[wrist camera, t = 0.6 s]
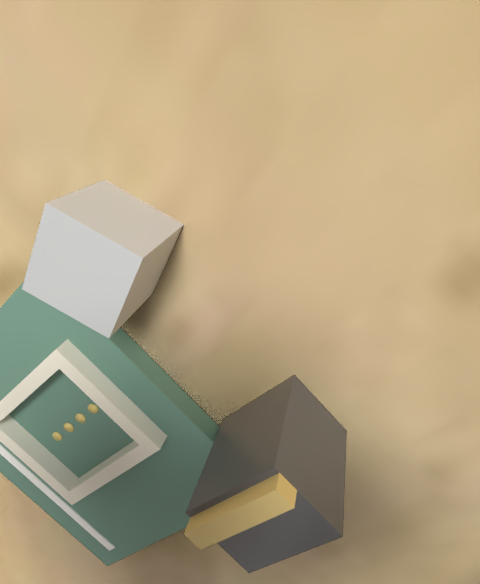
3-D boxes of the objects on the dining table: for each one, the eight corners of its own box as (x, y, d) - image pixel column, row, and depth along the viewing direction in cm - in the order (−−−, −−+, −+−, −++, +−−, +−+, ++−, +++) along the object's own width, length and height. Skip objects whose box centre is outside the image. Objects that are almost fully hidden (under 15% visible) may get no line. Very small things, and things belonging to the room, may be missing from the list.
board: (265, 472, 25) (257, 505, 23) (115, 549, 31) (99, 580, 29) (52, 258, 22) (22, 275, 21) (-66, 388, 29) (-96, 410, 27)
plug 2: (346, 430, 23) (342, 555, 17) (272, 468, 25) (245, 591, 19) (294, 374, 22) (270, 484, 16) (223, 418, 24) (178, 529, 18)
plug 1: (184, 223, 20) (142, 258, 16) (152, 293, 22) (109, 338, 18) (105, 179, 20) (45, 202, 16) (81, 252, 22) (21, 288, 18)
